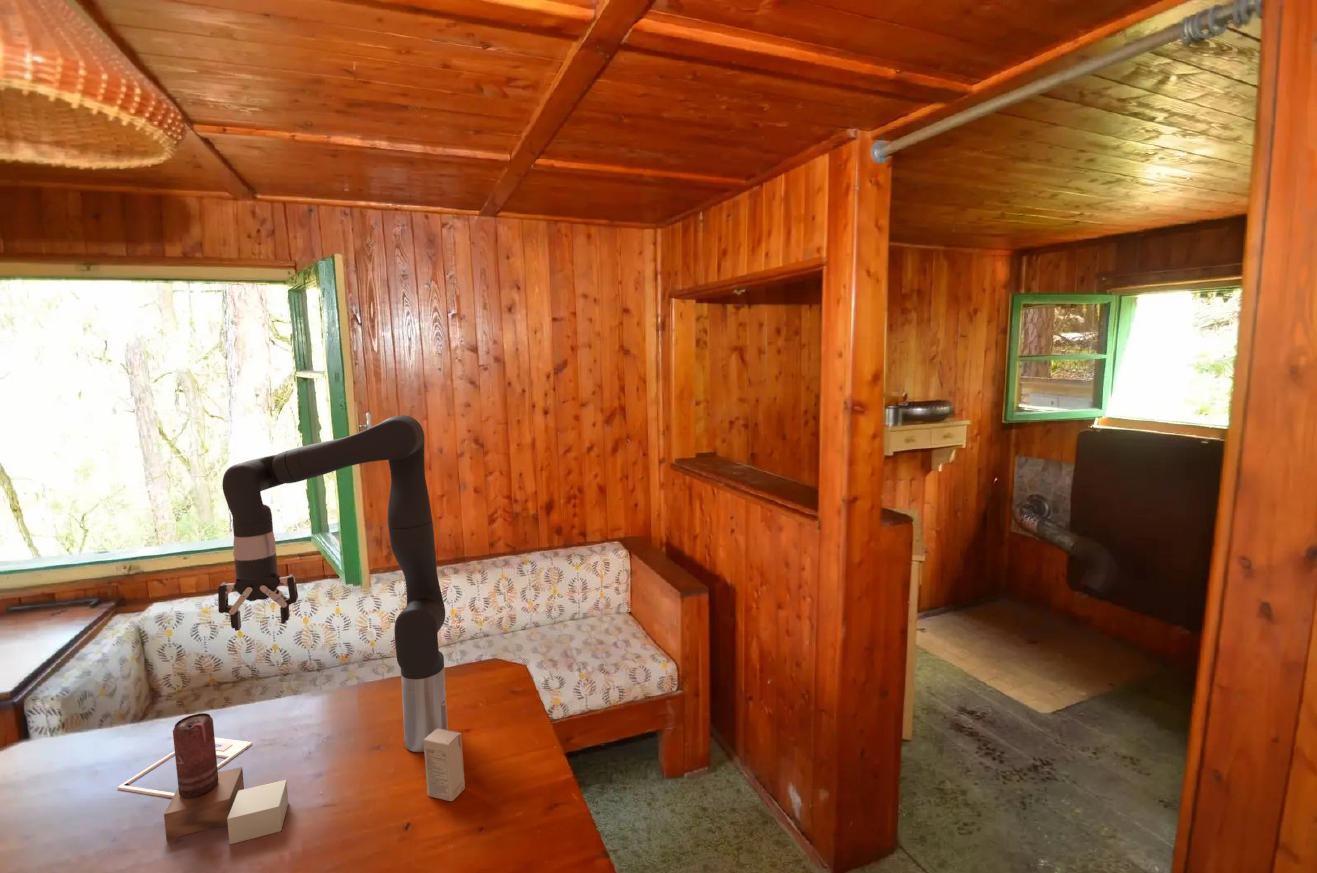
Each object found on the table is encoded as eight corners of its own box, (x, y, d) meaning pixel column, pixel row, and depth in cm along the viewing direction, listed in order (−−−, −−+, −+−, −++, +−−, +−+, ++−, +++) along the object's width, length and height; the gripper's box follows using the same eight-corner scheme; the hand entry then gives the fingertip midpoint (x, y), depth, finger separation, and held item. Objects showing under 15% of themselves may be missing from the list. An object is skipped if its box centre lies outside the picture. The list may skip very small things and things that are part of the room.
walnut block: (244, 789, 124) (242, 767, 123) (231, 823, 115) (229, 799, 114) (184, 803, 120) (182, 780, 119) (166, 839, 111) (163, 814, 110)
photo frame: (252, 741, 139) (176, 795, 121) (252, 746, 139) (176, 800, 121) (199, 734, 142) (117, 786, 124) (199, 739, 142) (117, 791, 124)
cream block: (288, 803, 120) (286, 779, 119) (280, 831, 113) (278, 806, 112) (240, 814, 117) (238, 790, 116) (229, 844, 110) (227, 819, 109)
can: (197, 802, 113) (191, 732, 112) (171, 797, 115) (163, 727, 113) (227, 781, 119) (221, 714, 117) (201, 776, 120) (195, 710, 119)
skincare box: (465, 788, 124) (463, 732, 122) (452, 803, 120) (449, 745, 118) (439, 781, 126) (437, 726, 125) (425, 795, 122) (422, 738, 120)
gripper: (296, 545, 136) (301, 614, 138) (220, 552, 130) (226, 624, 132) (290, 554, 129) (296, 627, 131) (210, 562, 124) (217, 638, 125)
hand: (261, 625), depth 132 cm, fingers open, 8 cm apart
